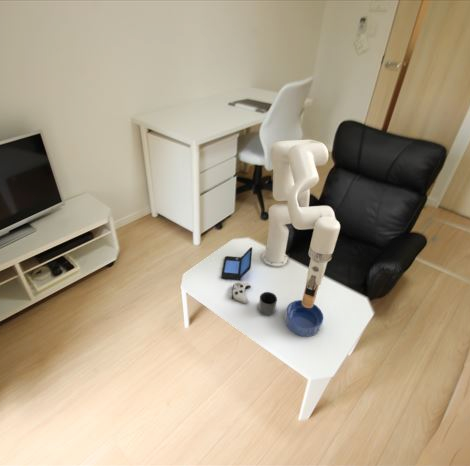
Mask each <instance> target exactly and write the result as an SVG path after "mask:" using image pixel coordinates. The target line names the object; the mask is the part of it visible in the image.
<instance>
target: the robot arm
mask: <svg viewBox="0 0 470 466" xmlns="http://www.w3.org/2000/svg"><path fill="white" fill-rule="evenodd" d="M269 157H270V162H271V165H272V169H273V170H272V171H273V172H272V173H273V174H272V198H273V199H274V200H275V201H276V202H279V203H275V204H272V205H271V206H270V207H269V208H268V229H267V238H266V246H265V250H264V251H263V252H262V254H261V260H262V261H263V263H265V265H268V266H270V267H275V268H277V267H278V268H279V267H283V266H285V265H286V264H287V263H288V255H287V254H286V251H287V246H288V240H289V234H290V230H289V227H288V226H287V225H292V227H293V228H294V229H296V230H298V231H299V230H302V231H303V230H313V232H312V234H311V235H312V236H311V241H310V245H309V249H308V256H309V258H310V260H309V265H308V270H307V275H306V282H308V285H307V287H306V291H305V294H307V295H310V296H314V294H315V290H316V288H315V287H316V285H318V286H319V287H320V286H321V285H322V282H323V279H324V276H325V273H326V269H327V265H328V262H330V261H331V260H332V258H333V255H334V252H335V248H336V244H337V241H338V237H339V234H340V230H341V224H340V221H338V220H337V218H336V215H335V211H334V209H333V208H332V207H331V206H329V205H313V206H310V196H311V189H312V188H314V187H315V186H316V185H317V184H318V183H319V181H320V175H319V173H318V170H317V167H321V166H325V165H326V164H327V163H328V161H329V157H330V156H329V150H328V147H327V146H326V144H325V143H323V142H321V141H318V140H314V139H290V140H280V141H276V142H274V143H273V144H271V147H270V150H269ZM309 284H310V285H309ZM314 284H315V285H314ZM313 285H314V286H313Z"/></svg>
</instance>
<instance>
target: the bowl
mask: <svg viewBox="0 0 470 466" xmlns="http://www.w3.org/2000/svg"><path fill="white" fill-rule="evenodd" d="M323 322H324V314H323V312H322V310H321V309H320V308H319V306H318V305H316V304H315V303H314V305H313V307H312V308H306V307H304V306H303V305H302V299H298V300H294V301H292V302H290V303H289V304H288V305H287V307H286V310H285V314H284V323H285V326H286V327H287V328H288V329H289V331H291V333H293V334H295V335H297V336H300V337H304V338H308V337H313V336H315V335H317V334H318V333H319V332H320V331H321V329H322V325H323Z"/></svg>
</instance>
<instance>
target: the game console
mask: <svg viewBox="0 0 470 466" xmlns="http://www.w3.org/2000/svg"><path fill="white" fill-rule="evenodd" d="M252 257H253V247H252V246H251V247H249V249H248V250H247V251H246V252H245V253H244V254H243V255H242V256H230V255H225V257H224V259H223V265H222V270H221V275H220V278H221V279H223V280H230V281H238V282H240V281H241V279H242V278H243V277H244V276H245V275H246V274H247V273H248V272H249V271H250V270H251V269H252Z"/></svg>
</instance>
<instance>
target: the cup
mask: <svg viewBox="0 0 470 466" xmlns="http://www.w3.org/2000/svg"><path fill="white" fill-rule="evenodd" d="M277 302H278V297H277V296H276V295H275V293H273V292H270V291H265V292H262V293H261V294H260V296H259V301H258V311H259V312H260V314H261V315H264V316H272V315H274V314H275V312H276V308H277V304H278V303H277Z"/></svg>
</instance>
